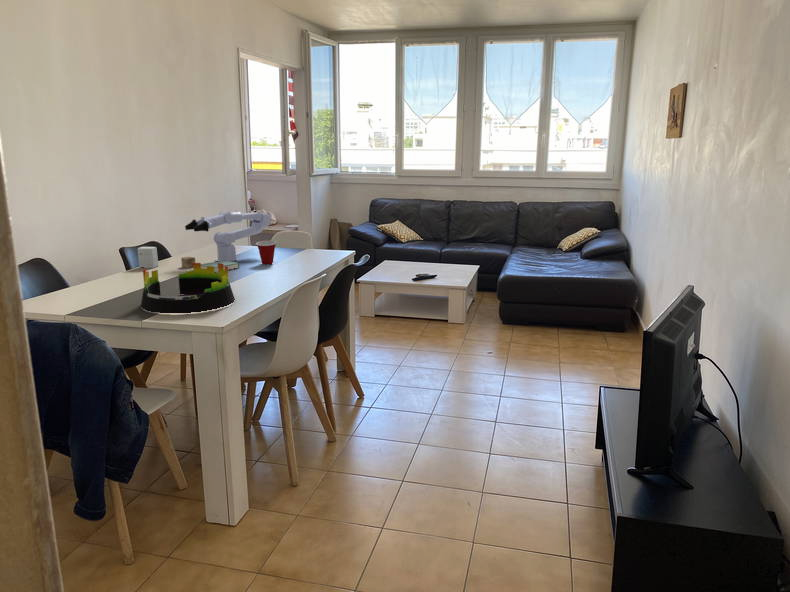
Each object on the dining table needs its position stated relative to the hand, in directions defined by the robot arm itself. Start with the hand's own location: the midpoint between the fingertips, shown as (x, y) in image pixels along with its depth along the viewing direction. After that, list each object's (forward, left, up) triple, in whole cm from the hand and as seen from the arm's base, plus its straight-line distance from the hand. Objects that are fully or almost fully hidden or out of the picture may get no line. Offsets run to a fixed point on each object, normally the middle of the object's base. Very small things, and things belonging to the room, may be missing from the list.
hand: (189, 228), depth 321 cm
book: (-5, +16, -20) cm, 27 cm away
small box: (+16, -16, -20) cm, 30 cm away
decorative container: (+46, +66, -21) cm, 83 cm away
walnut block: (+2, -1, -20) cm, 20 cm away
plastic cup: (-30, +24, -20) cm, 44 cm away
